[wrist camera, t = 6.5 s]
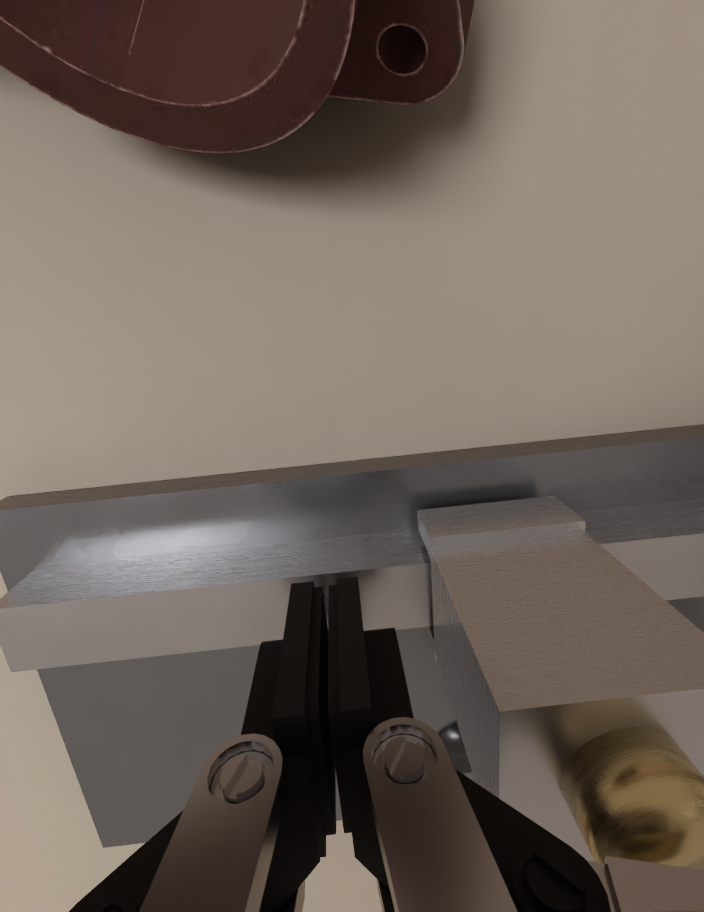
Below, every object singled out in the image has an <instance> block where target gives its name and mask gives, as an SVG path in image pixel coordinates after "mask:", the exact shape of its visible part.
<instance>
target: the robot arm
mask: <svg viewBox="0 0 704 912" xmlns="http://www.w3.org/2000/svg"><path fill="white" fill-rule="evenodd" d="M335 769H336V770H335ZM336 777H337V784H338V791H339V798H340V806H341V813H342V820H343V828H344V833H350V832H352V837H353V845H354V852H355V858H356V859H358V860H359V861H360V862H361V863H362V864H363V865H364V866H365V867H366V868H367V869H368V870H369V871H370V872H371V873H372V874H373V875H374V876H375V877H376V878H377V887H378V892H379V897H380V902H381V907H382V912H704V870H698V869H691V868H685V867H678V866H671V865H664V864H658V863H651V862H644V861H637V860H631V859H624V858H617V857H611V856H605V863H600V862H593V861H587V860H586V859H585V858H584V857H583V856H581V855H580V854H579V853H578V852H577V851H576V850H574V849H573V848H572V847H571V846H569V845H568V844H566V843H565V842H563V841H562V840H560V839H559V838H557V837H556V836H555V835H553V834H552V833H550V832H549V831H547V830H546V829H544V828H543V827H541V826H540V825H538V824H537V823H535V822H534V821H532V820H531V819H529V818H528V817H526V816H525V815H523V814H522V813H520V812H519V811H517V810H516V809H514V808H513V807H511V806H510V805H508V804H507V803H505V802H504V801H502V800H501V799H499V798H498V797H496V796H495V795H493V794H492V793H490V792H489V791H488V790H486V789H485V788H483V787H482V786H480V785H479V784H477V783H476V782H474V781H473V780H471V779H470V778H468V777H467V776H465V775H464V774H462V773H461V772H459V771H458V770H456V769H455V768H454V766H453V763H452V761H451V759H450V757H449V754H448V752H447V750H446V747H445V745H444V743H443V741H442V740H441V738H440V736H439V735H438V733H437V732H436V731H435V730H434V729H433V728H431V727H430V726H429V725H428V724H426V723H424V722H422V721H420V720H418V719H414V717H413V712H412V707H411V702H410V697H409V693H408V688H407V683H406V678H405V673H404V668H403V663H402V659H401V654H400V649H399V644H398V639H397V634H396V630H395V628H385V629H376V630H367V631H364V630H363V621H362V611H361V601H360V592H359V582H358V577H348V578H339V579H337V585H329V600H328V626H327V618H326V610H325V602H324V594H323V588H322V586H319V587H315V586H314V582H313V581H310V582H301V583H292V584H291V588H290V595H289V602H288V609H287V615H286V622H285V629H284V636H283V639H282V640H273V641H263V642H262V643H261V644H260V648H259V652H258V657H257V661H256V666H255V671H254V675H253V680H252V685H251V689H250V694H249V699H248V703H247V708H246V713H245V717H244V722H243V727H242V731H241V735H240V736H237V737H235V738H232V739H230V740H228V741H227V742H225V743H224V744H222V745H221V746H219V747H218V748H217V749H216V750H215V751H214V752H213V753H212V754H211V755H210V756H209V757H208V759H207V760H206V762H205V764H204V765H203V767H202V769H201V771H200V773H199V776H198V778H197V780H196V783H195V785H194V787H193V789H192V792H191V794H190V796H189V799H188V801H187V803H186V805H185V808H184V810H183V811H182V812H180V813H179V814H178V815H177V816H176V817H175V818H174V819H172V820H171V821H170V822H169V823H168V824H167V825H166V826H164V827H163V828H162V829H161V830H160V831H159V832H158V833H156V834H155V835H154V836H153V837H152V838H151V839H150V840H149V841H147V842H146V843H145V844H144V845H143V846H142V847H141V848H139V849H138V850H137V851H136V852H135V853H134V854H133V855H131V856H130V857H129V858H128V859H127V860H126V861H125V862H123V863H122V864H121V865H120V866H119V867H118V868H117V869H116V870H114V871H113V872H112V873H111V874H110V875H109V876H108V877H106V878H105V879H104V880H103V881H102V882H101V883H100V884H98V885H97V886H96V887H95V888H94V889H93V890H92V891H90V892H89V893H88V894H87V895H86V896H85V897H84V898H83V899H81V900H80V901H79V902H78V903H77V904H76V905H75V906H74V907H73V908H72V909H71V910H70V911H69V912H302V909H303V903H304V897H305V879H306V878H307V877H308V875H309V874H310V873H311V872H312V870H313V869H314V868H315V867H316V866H317V864H318V863H319V862H320V857H326V835H332V834H336Z"/></svg>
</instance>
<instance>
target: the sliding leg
mask: <svg viewBox="0 0 704 912" xmlns="http://www.w3.org/2000/svg"><path fill="white" fill-rule="evenodd" d="M417 517H418V530H419V532H420V535H421V537H422V539H423V542H424V544H425V547H426V549H427V552H428V554H429V556H430V561H431V582H432V603H433V624H434V626H428V627H425V628H426V632H427V635H428V638H429V641H430V645H431V648H432V651H433V655H434V658H435V660H438V663H439V667H440V670H441V673H442V676H443V679H444V683H445V686H446V689H447V692H448V696H449V699H450V702H451V705H452V708H453V712H454V715H455V718H456V721H457V725H458V728H459V731H460V734H461V737H462V741H463V744H464V747H465V750H466V754H467V757H468V760H469V763H470V766H471V770H472V773H473V776H474V779H475V782H476V783H477V784H479V785H480V786H482V787H483V788H485V789H486V790H488V791H489V792H490V793H492V794H493V795H495V796H496V797H498V798H499V799H501V800H502V801H504V802H505V803H507V804H508V805H510V806H511V807H513V808H514V809H516V810H517V811H519V812H520V813H522V814H523V815H525V816H526V817H528V818H529V819H531V820H532V821H534V822H535V823H537V824H538V825H540V826H541V827H543V828H544V829H546V830H547V831H549V832H550V833H552V834H553V835H555V836H556V837H557V838H559V839H560V840H562V841H563V842H565V843H566V844H568V845H569V846H571V847H572V848H573V849H574V850H576V851H577V852H578V853H579V854H580V855H581V856H583V857H584V858H585V859H586V860H587V861H593V862H600V863H605V856H611V857H617V858H624V859H631V860H637V861H644V862H651V863H658V864H664V865H671V866H678V867H685V868H691V869H698V870H704V633H703V632H702V631H701V630H700V629H699V628H697V627H696V626H695V625H694V624H693V623H692V622H690V621H689V620H688V619H687V618H686V617H684V616H683V615H682V614H681V613H680V612H679V611H677V610H676V609H675V608H674V607H673V606H672V605H670V604H669V603H668V602H667V601H666V600H665V599H663V598H662V597H661V596H660V595H659V594H657V593H656V592H655V591H654V590H653V589H652V588H650V587H649V586H648V585H647V584H646V583H645V582H643V581H642V580H641V579H640V578H639V577H637V576H636V575H635V574H634V573H633V572H632V571H630V570H629V569H628V568H627V567H626V566H625V565H623V564H622V563H621V562H620V561H619V560H618V559H616V558H615V557H614V556H613V555H612V554H610V553H609V552H608V551H607V550H606V549H605V548H603V547H602V546H601V545H600V544H599V543H598V542H596V541H595V540H594V539H593V538H592V537H590V536H589V535H588V534H587V533H586V532H585V522H586V521H585V520H584V519H582V518H581V517H580V516H579V515H577V514H576V513H575V512H574V511H572V510H571V509H570V508H569V507H567V506H566V505H565V504H564V503H563V502H561V501H560V500H559V499H558V498H556V497H555V496H547V497H537V498H528V499H518V500H509V501H499V502H490V503H480V504H471V505H461V506H452V507H442V508H433V509H423V510H417Z"/></svg>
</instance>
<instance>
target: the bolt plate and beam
mask: <svg viewBox="0 0 704 912" xmlns="http://www.w3.org/2000/svg"><path fill="white" fill-rule="evenodd" d="M547 496H555V497H556V498H558V499H559V500H560V501H561V502H563V503H564V504H565V505H566V506H567V507H569V508H570V509H571V510H572V511H574V512H575V513H576V514H577V515H579V516H580V517H581V518H582V519H584V520H585V521H586V522H585V532H586V533H587V534H588V535H589V536H590V537H592V538H593V539H594V540H595V541H596V542H598V543H599V544H600V545H601V546H602V547H603V548H605V549H606V550H607V551H608V552H609V553H610V554H612V555H613V556H614V557H615V558H616V559H618V560H619V561H620V562H621V563H622V564H623V565H625V566H626V567H627V568H628V569H629V570H630V571H632V572H633V573H634V574H635V575H636V576H637V577H639V578H640V579H641V580H642V581H643V582H645V583H646V584H647V585H648V586H649V587H650V588H652V589H653V590H654V591H655V592H656V593H657V594H659V595H660V596H661V597H662V598H663V599H665V600H666V601H667V602H668V603H669V604H670V605H672V606H673V607H674V608H675V609H676V610H677V611H679V612H680V613H681V614H682V615H683V616H684V617H686V618H687V619H688V620H689V621H690V622H692V623H693V624H694V625H695V626H696V627H697V628H699V629H700V630H701V631H702V632H703V633H704V425H695V426H686V427H676V428H666V429H657V430H647V431H637V432H628V433H618V434H608V435H599V436H589V437H579V438H570V439H560V440H550V441H541V442H531V443H521V444H512V445H502V446H492V447H483V448H473V449H463V450H454V451H444V452H434V453H425V454H415V455H405V456H396V457H386V458H377V459H367V460H357V461H348V462H338V463H328V464H319V465H309V466H299V467H290V468H280V469H270V470H261V471H251V472H241V473H232V474H222V475H212V476H203V477H193V478H183V479H174V480H164V481H154V482H145V483H135V484H125V485H116V486H106V487H96V488H87V489H77V490H67V491H58V492H48V493H38V494H29V495H19V496H9V497H6V498H4V499H2V500H0V571H1V573H2V576H3V579H4V582H5V584H6V587H7V590H8V593H6V594H5V595H4V596H3V597H2V598H1V599H0V645H1V647H2V650H3V652H4V655H5V658H6V660H7V663H8V665H9V668H10V670H11V672H17V671H26V670H35V669H37V671H38V673H39V676H40V679H41V681H42V684H43V687H44V689H45V692H46V695H47V698H48V700H49V703H50V706H51V708H52V711H53V714H54V716H55V719H56V722H57V724H58V727H59V730H60V733H61V735H62V738H63V741H64V743H65V746H66V749H67V751H68V754H69V757H70V760H71V762H72V765H73V768H74V770H75V773H76V776H77V778H78V781H79V784H80V786H81V789H82V792H83V795H84V797H85V800H86V803H87V805H88V808H89V811H90V813H91V816H92V819H93V822H94V824H95V827H96V830H97V832H98V835H99V838H100V840H101V843H102V846H103V848H104V847H112V846H121V845H130V844H138V843H146V842H147V841H149V840H150V839H151V838H152V837H153V836H154V835H155V834H156V833H158V832H159V831H160V830H161V829H162V828H163V827H164V826H166V825H167V824H168V823H169V822H170V821H171V820H172V819H174V818H175V817H176V816H177V815H178V814H179V813H180V812H182V811H183V810H184V808H185V805H186V803H187V801H188V799H189V796H190V794H191V792H192V789H193V787H194V785H195V783H196V780H197V778H198V776H199V773H200V771H201V769H202V767H203V765H204V764H205V762H206V760H207V759H208V757H209V756H210V755H211V754H212V753H213V752H214V751H215V750H216V749H217V748H218V747H219V746H221V745H222V744H224V743H225V742H227V741H228V740H230V739H232V738H235V737H237V736H240V735H241V731H242V727H243V722H244V717H245V713H246V708H247V703H248V699H249V694H250V689H251V685H252V680H253V675H254V671H255V666H256V661H257V657H258V652H259V648H260V644H261V643H262V642H263V641H273V640H282V639H283V636H284V629H285V622H286V615H287V609H288V602H289V595H290V588H291V584H292V583H301V582H310V581H313V582H314V586H315V587H319V586H322V588H323V594H324V602H325V610H326V618H327V626H328V600H329V585H337V579H339V578H348V577H358V582H359V592H360V601H361V611H362V621H363V630H364V631H367V630H376V629H385V628H395V630H396V634H397V639H398V644H399V649H400V654H401V659H402V663H403V668H404V673H405V678H406V683H407V688H408V693H409V697H410V702H411V707H412V712H413V717H414V719H418V720H420V721H422V722H424V723H426V724H428V725H429V726H430V727H431V728H433V729H434V730H435V731H436V732H437V733H438V735H439V736H440V738H441V740H442V741H443V743H444V745H445V747H446V750H447V752H448V754H449V757H450V759H451V761H452V763H453V766H454V768H455V769H456V770H458V771H459V772H461V773H462V774H464V775H465V776H467V777H468V778H470V779H471V780H473V781H474V782H475V779H474V776H473V773H472V770H471V766H470V763H469V760H468V757H467V754H466V750H465V747H464V744H463V741H462V737H461V734H460V731H459V728H458V725H457V721H456V718H455V715H454V712H453V708H452V705H451V702H450V699H449V696H448V692H447V689H446V686H445V683H444V679H443V676H442V673H441V670H440V667H439V663H438V660H435V658H434V655H433V651H432V648H431V645H430V641H429V638H428V635H427V632H426V628H425V627H428V626H434V624H433V603H432V582H431V561H430V556H429V554H428V552H427V549H426V547H425V544H424V542H423V539H422V537H421V535H420V532H419V530H418V517H417V510H423V509H433V508H442V507H452V506H461V505H471V504H480V503H490V502H499V501H509V500H518V499H528V498H537V497H547ZM335 770H336V769H335ZM337 820H342V813H341V806H340V798H339V791H338V784H337V777H336V821H337Z"/></svg>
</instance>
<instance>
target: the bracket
mask: <svg viewBox="0 0 704 912" xmlns="http://www.w3.org/2000/svg"><path fill="white" fill-rule="evenodd" d="M473 4H474V0H0V66H1V67H3V68H4V69H6V70H7V71H9V72H10V73H12V74H13V75H15V76H16V77H18V78H19V79H21V80H23V81H24V82H26V83H27V84H29V85H30V86H32V87H34V88H35V89H37V90H39V91H40V92H42V93H43V94H45V95H47V96H49V97H50V98H52V99H54V100H56V101H57V102H59V103H61V104H63V105H65V106H67V107H68V108H70V109H72V110H74V111H76V112H78V113H80V114H82V115H84V116H86V117H88V118H90V119H92V120H94V121H96V122H99V123H101V124H103V125H105V126H108V127H110V128H112V129H115V130H117V131H120V132H122V133H125V134H127V135H130V136H133V137H136V138H139V139H142V140H145V141H148V142H152V143H155V144H159V145H162V146H167V147H171V148H175V149H181V150H187V151H194V152H203V153H233V152H242V151H248V150H253V149H257V148H260V147H264V146H267V145H269V144H272V143H274V142H277V141H279V140H281V139H283V138H285V137H287V136H288V135H290V134H291V133H293V132H294V131H296V130H297V129H298V128H300V127H301V126H302V125H303V124H304V123H306V122H307V121H308V120H309V119H310V118H311V117H312V116H313V115H314V113H315V112H316V111H317V110H318V109H319V107H320V106H321V105H322V103H323V102H324V101H325V99H326V98H327V97H335V98H344V99H354V100H364V101H373V102H383V103H393V104H404V105H410V104H418V103H423V102H426V101H429V100H431V99H433V98H435V97H437V96H438V95H440V94H441V93H442V92H444V91H445V90H446V89H447V88H448V87H449V86H450V84H451V83H452V82H453V81H454V79H455V77H456V76H457V74H458V72H459V69H460V67H461V63H462V59H463V54H464V49H465V44H466V39H467V34H468V29H469V24H470V19H471V14H472V9H473Z"/></svg>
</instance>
